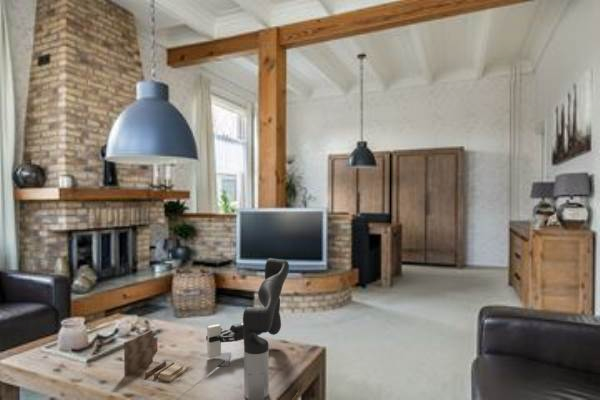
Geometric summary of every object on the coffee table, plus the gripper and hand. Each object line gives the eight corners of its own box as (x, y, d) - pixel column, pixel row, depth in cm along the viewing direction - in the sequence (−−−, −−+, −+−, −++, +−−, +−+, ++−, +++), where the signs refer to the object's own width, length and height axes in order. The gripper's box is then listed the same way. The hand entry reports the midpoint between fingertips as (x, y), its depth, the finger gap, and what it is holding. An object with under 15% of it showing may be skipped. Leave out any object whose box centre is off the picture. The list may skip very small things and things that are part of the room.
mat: (228, 366, 178) (228, 365, 178) (195, 367, 177) (195, 366, 177) (230, 354, 192) (230, 352, 192) (200, 355, 191) (200, 353, 191)
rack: (150, 362, 182) (150, 329, 182) (194, 370, 175) (194, 335, 175) (124, 378, 167) (124, 342, 167) (171, 387, 160) (170, 349, 159)
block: (218, 353, 188) (218, 323, 187) (220, 355, 186) (220, 325, 185) (207, 356, 184) (207, 326, 184) (209, 358, 182) (209, 327, 182)
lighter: (139, 355, 190) (139, 334, 190) (140, 353, 194) (140, 332, 193) (157, 354, 192) (157, 333, 192) (158, 351, 196) (158, 330, 196)
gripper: (235, 319, 199) (201, 326, 188) (248, 327, 187) (214, 335, 177) (235, 334, 199) (201, 342, 189) (249, 343, 188) (214, 352, 177)
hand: (208, 339), depth 183 cm, fingers closed on block, 2 cm apart
